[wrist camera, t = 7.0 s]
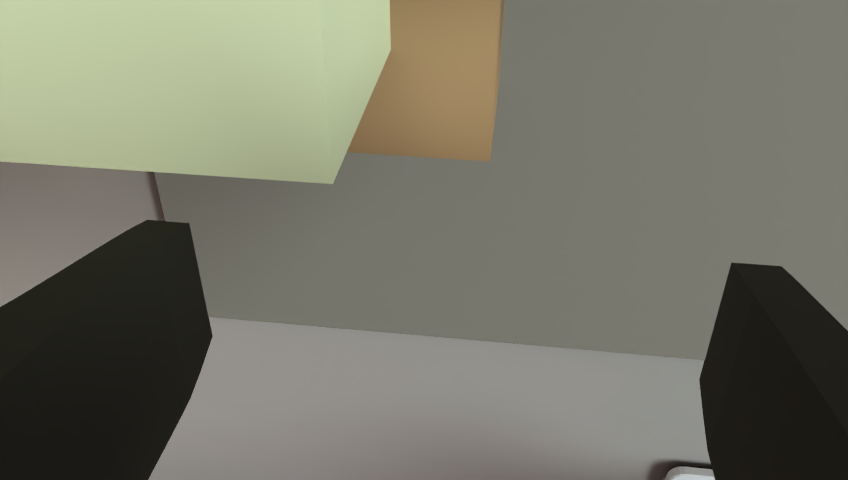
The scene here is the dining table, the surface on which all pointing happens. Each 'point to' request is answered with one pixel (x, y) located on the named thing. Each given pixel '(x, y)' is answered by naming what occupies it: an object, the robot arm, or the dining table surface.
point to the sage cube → (189, 84)
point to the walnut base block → (436, 82)
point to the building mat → (569, 189)
